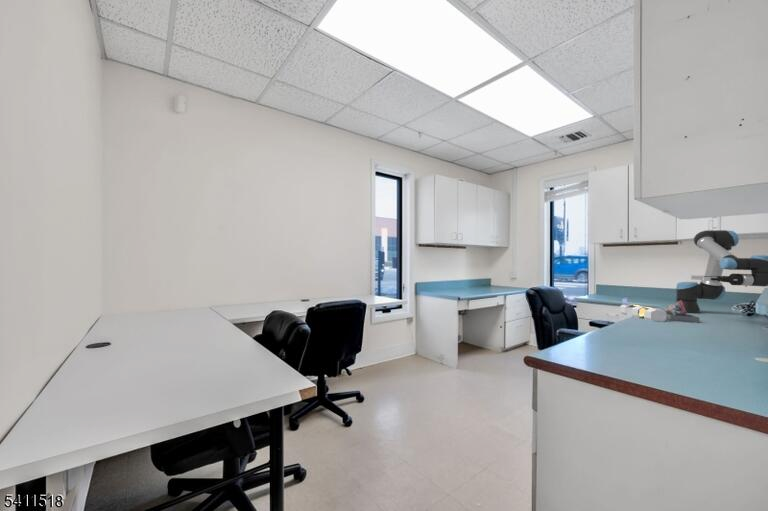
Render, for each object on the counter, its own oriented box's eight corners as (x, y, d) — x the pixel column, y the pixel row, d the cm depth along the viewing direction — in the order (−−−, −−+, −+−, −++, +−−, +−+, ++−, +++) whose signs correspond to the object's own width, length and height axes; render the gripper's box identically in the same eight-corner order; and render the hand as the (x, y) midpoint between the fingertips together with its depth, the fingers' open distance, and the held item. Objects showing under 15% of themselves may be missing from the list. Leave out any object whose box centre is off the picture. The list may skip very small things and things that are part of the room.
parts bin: (685, 318, 210) (685, 313, 210) (699, 322, 195) (699, 317, 195) (658, 316, 215) (658, 311, 215) (670, 320, 200) (670, 315, 200)
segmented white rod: (619, 314, 222) (620, 296, 222) (633, 314, 223) (634, 296, 223) (651, 321, 197) (651, 301, 197) (666, 321, 198) (666, 301, 198)
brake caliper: (694, 317, 199) (688, 300, 199) (676, 323, 201) (670, 306, 200) (679, 313, 210) (673, 297, 210) (663, 318, 212) (656, 302, 212)
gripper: (755, 287, 184) (709, 285, 191) (726, 283, 207) (686, 282, 215) (755, 274, 184) (709, 273, 191) (726, 272, 207) (686, 271, 215)
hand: (696, 278), depth 203 cm, fingers open, 13 cm apart
